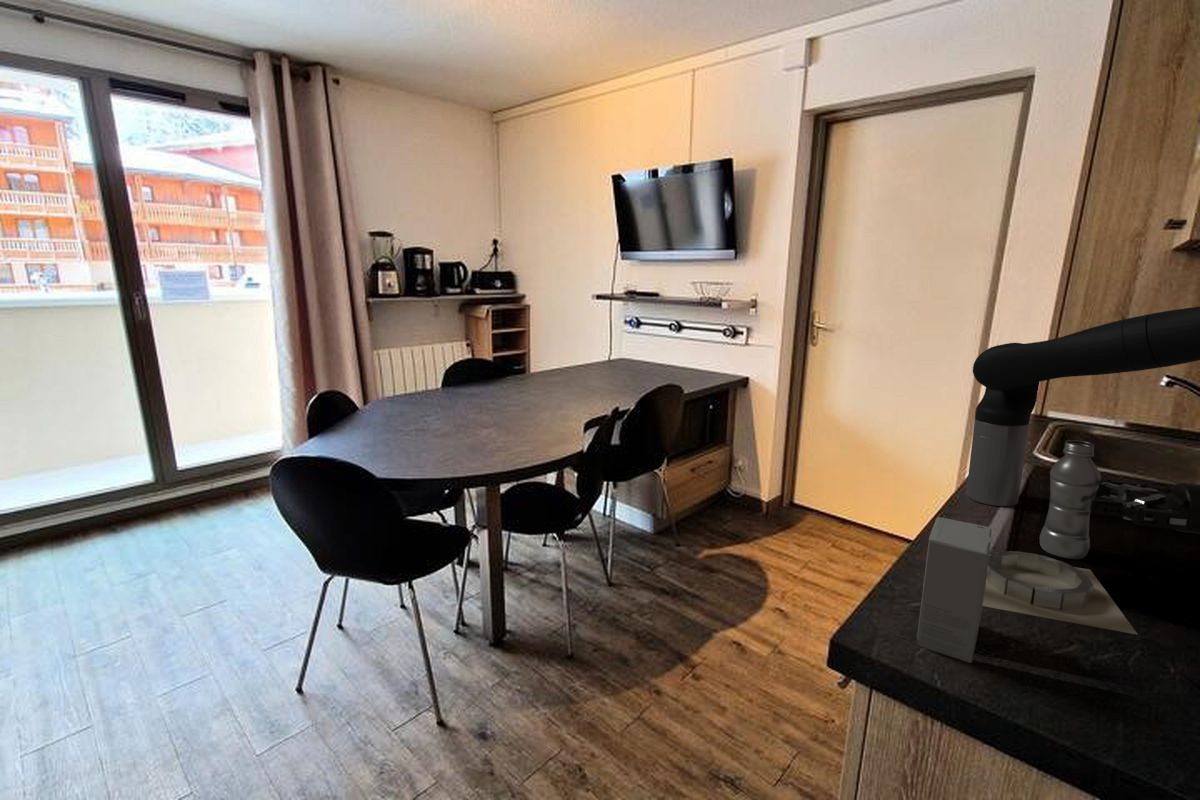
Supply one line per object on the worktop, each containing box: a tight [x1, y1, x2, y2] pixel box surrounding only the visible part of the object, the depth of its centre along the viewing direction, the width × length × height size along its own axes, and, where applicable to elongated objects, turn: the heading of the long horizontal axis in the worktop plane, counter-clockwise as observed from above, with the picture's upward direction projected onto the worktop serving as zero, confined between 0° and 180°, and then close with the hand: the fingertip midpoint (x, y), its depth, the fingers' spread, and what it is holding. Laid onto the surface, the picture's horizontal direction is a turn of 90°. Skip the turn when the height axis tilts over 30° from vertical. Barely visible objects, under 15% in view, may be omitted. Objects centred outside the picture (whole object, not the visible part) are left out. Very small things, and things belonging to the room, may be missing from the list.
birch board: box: [982, 553, 1139, 636], centre depth 84 cm, size 18×18×1 cm
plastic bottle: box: [1039, 439, 1102, 560], centre depth 92 cm, size 6×7×20 cm
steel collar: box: [986, 550, 1093, 610], centre depth 84 cm, size 12×12×2 cm
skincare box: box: [915, 516, 993, 664], centre depth 72 cm, size 8×7×16 cm
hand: (1082, 496), depth 92 cm, fingers open, 8 cm apart
